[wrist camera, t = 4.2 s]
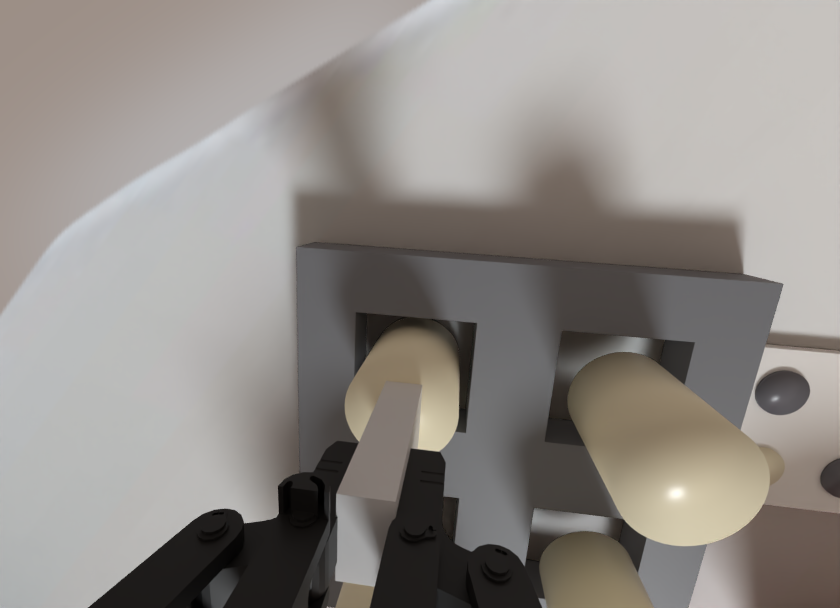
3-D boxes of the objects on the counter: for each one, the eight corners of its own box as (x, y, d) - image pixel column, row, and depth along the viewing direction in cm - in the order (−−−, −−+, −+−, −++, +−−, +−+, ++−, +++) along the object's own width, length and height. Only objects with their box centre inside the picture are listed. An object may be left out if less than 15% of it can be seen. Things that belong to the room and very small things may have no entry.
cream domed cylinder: (560, 438, 20) (601, 535, 14) (575, 347, 18) (627, 412, 13) (661, 449, 19) (747, 555, 13) (684, 357, 18) (788, 429, 12)
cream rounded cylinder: (373, 392, 23) (343, 455, 17) (376, 313, 22) (345, 351, 16) (456, 401, 23) (453, 468, 17) (463, 320, 22) (463, 363, 16)
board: (316, 567, 27) (301, 602, 25) (314, 242, 22) (296, 247, 19) (652, 616, 25) (672, 660, 23) (744, 274, 20) (783, 283, 17)
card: (696, 489, 23) (704, 499, 22) (736, 341, 21) (747, 346, 20) (866, 510, 22) (881, 521, 21) (928, 358, 20) (947, 364, 19)
